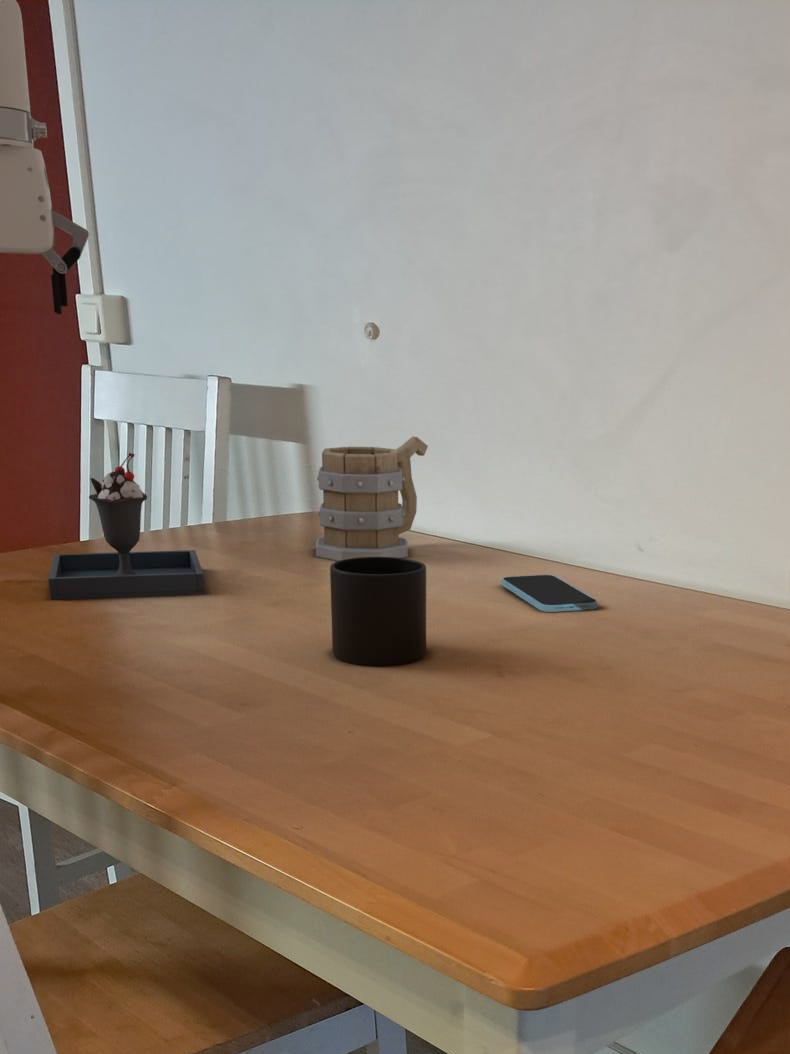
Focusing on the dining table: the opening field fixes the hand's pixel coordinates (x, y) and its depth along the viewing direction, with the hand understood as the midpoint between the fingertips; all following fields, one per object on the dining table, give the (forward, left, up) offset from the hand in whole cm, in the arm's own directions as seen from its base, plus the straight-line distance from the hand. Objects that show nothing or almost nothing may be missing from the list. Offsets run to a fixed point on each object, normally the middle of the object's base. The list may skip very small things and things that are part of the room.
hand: (12, 312), depth 138 cm
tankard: (+44, +22, -31) cm, 59 cm away
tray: (+9, +5, -31) cm, 33 cm away
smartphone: (+58, -12, -31) cm, 67 cm away
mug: (+33, -33, -31) cm, 56 cm away
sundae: (+9, +5, -31) cm, 32 cm away
